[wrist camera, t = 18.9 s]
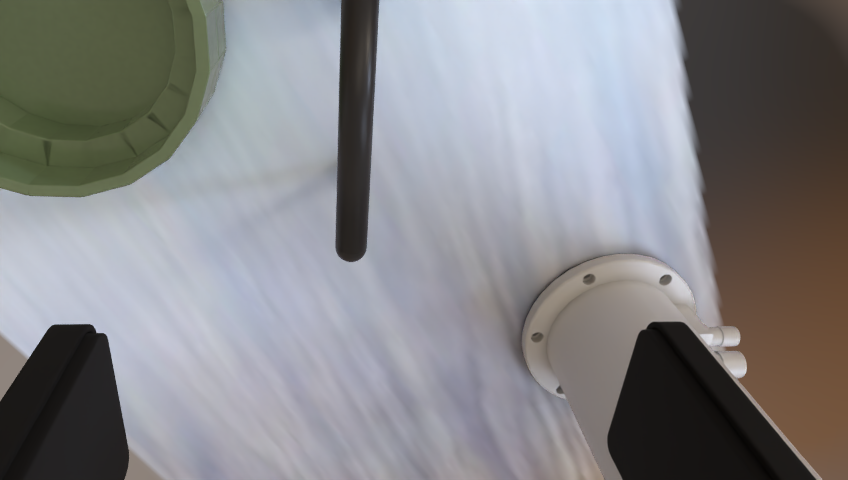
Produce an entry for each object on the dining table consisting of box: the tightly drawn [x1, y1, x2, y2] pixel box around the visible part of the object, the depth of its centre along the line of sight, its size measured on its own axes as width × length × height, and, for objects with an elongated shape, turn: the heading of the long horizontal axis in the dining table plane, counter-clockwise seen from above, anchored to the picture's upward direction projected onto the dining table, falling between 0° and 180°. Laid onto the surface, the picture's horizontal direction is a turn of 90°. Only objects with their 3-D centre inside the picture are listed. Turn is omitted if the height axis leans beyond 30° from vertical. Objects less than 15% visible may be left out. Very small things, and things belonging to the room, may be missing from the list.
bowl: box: [0, 0, 226, 197], centre depth 29 cm, size 15×15×6 cm
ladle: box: [336, 0, 379, 262], centre depth 29 cm, size 15×5×11 cm, turn 175°
